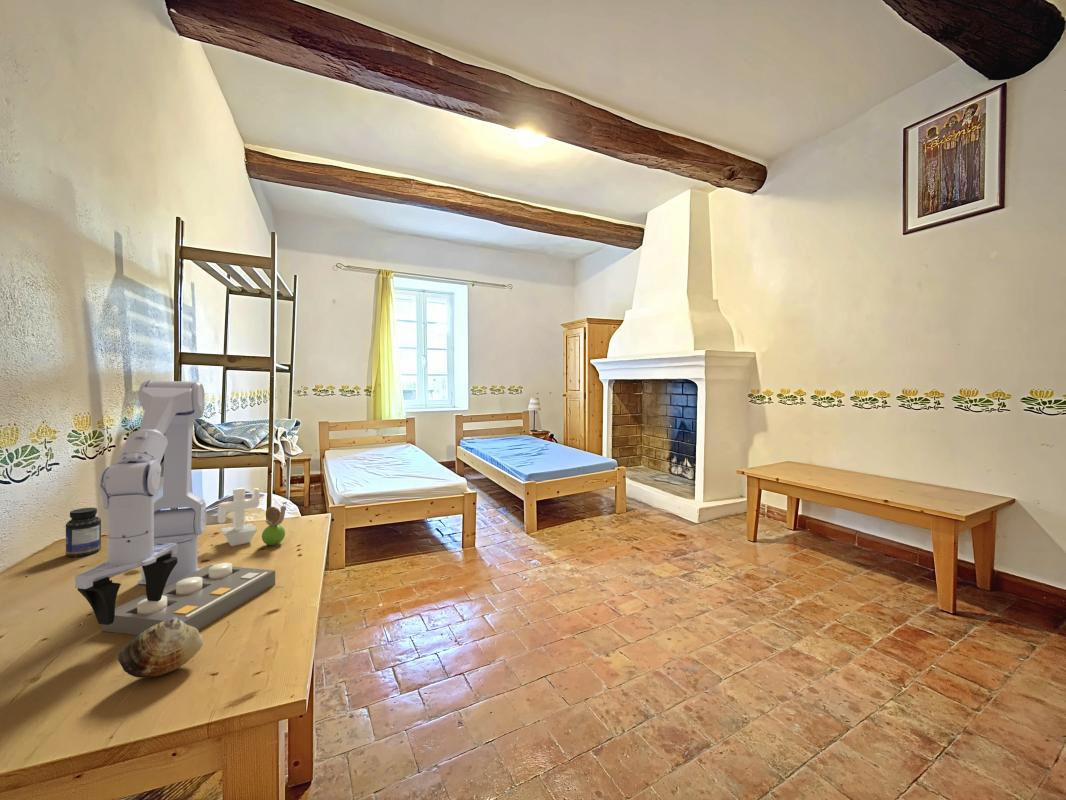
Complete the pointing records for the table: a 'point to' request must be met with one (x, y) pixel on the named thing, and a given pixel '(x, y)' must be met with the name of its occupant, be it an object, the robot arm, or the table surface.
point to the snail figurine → (274, 526)
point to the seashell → (160, 649)
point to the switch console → (195, 601)
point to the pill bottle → (83, 533)
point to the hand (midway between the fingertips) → (131, 611)
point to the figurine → (239, 516)
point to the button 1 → (151, 606)
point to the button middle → (188, 586)
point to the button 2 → (220, 571)
